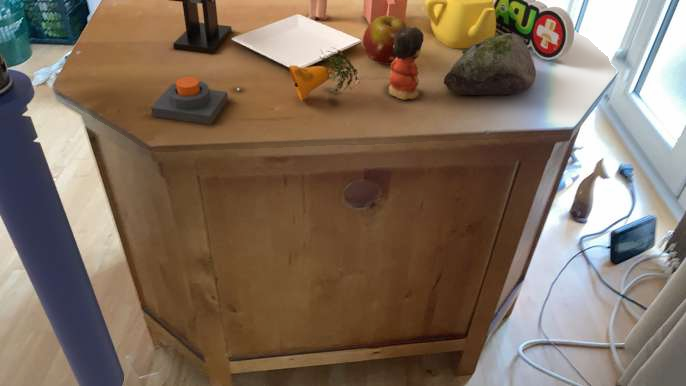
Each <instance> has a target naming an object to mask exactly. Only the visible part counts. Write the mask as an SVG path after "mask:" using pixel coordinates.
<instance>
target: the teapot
mask: <svg viewBox="0 0 686 386" xmlns="http://www.w3.org/2000/svg"><path fill="white" fill-rule="evenodd" d="M424 7H425V12H426V14H427V16H428V17H429V19H430V28H431V29H432V32H433V34H434V36H435V38H436V39H437V40H438V41H439V42H440V43H442V44H443V45H445V46H447V47H449V48H452V49H460V50H462V49H464V50H466V48H467V49H468V48H470V47H471V46H472V45H475V44H477V43H479V42H480V41H483V40H484V39H488V38H490V37H494V36H496V31H497V30H496V15H495V9H494V0H426V1H425V3H424Z"/></svg>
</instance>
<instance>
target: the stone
mask: <svg viewBox="0 0 686 386" xmlns="http://www.w3.org/2000/svg"><path fill="white" fill-rule="evenodd" d="M461 54H462V55H461V56H460V57H459V58H458V59H457V61H456V62H455V63H454V64H453V66H452V67H451V68H450V70H449V71H448V72H447V73H446V75H444V79H443V84H444V85H445V86H446V88H447V90H449V91H451V92H452V93H454V94H458V95H459V94H460V95H471V96H472V95H473V96H478V95H479V96H481V95H492V96H493V95H494V96H495V95H496V96H501V95H509V94H510V95H513V94H518V93H522V92H525V91H528V90H529V89H530V88H531V87H532V85H533V84H534V82H535V80H536V75H537V69H536V65H535V62H534V60H533V57H532V55H531V52H530V49H529V47H527V46H526V44H525V43H524V41H523V40H522V39H521V38H520V37H518V36H517V35H516V34H510V33H506V34H502V33H501V34H500V35H495V36H494V37H490V38H488V39H484V40H483V41H480V42H479V43H477V44H475V45H472V46H471V47H470V48H466V49H464V50H462V51H461Z"/></svg>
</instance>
